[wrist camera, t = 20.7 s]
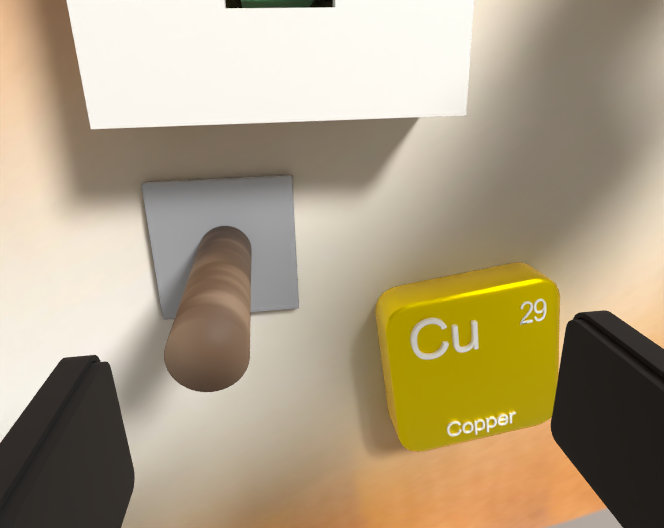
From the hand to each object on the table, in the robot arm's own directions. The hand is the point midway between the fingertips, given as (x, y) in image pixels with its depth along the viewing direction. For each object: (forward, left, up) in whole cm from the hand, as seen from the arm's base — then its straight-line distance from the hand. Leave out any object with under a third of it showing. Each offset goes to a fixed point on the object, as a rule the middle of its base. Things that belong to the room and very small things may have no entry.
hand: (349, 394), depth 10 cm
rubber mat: (+5, +6, -30) cm, 31 cm away
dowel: (+5, +6, -29) cm, 30 cm away
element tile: (-15, +18, -30) cm, 38 cm away
